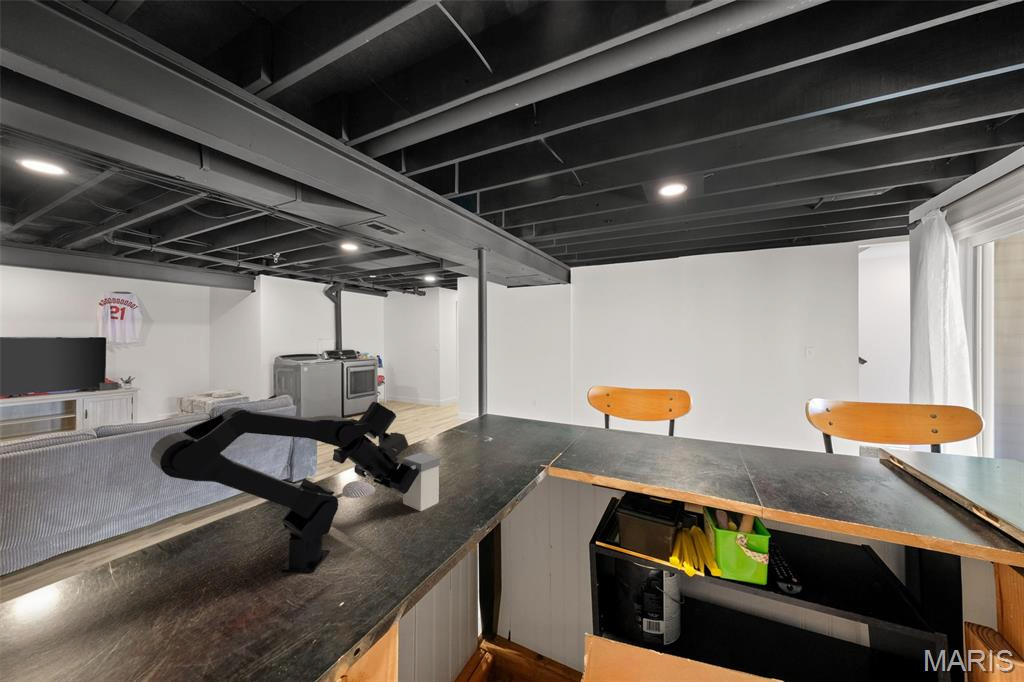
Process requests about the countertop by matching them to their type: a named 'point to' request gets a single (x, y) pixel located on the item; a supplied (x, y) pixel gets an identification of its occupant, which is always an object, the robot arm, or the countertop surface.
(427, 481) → the lidded box
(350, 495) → the seashell
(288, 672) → the countertop surface
